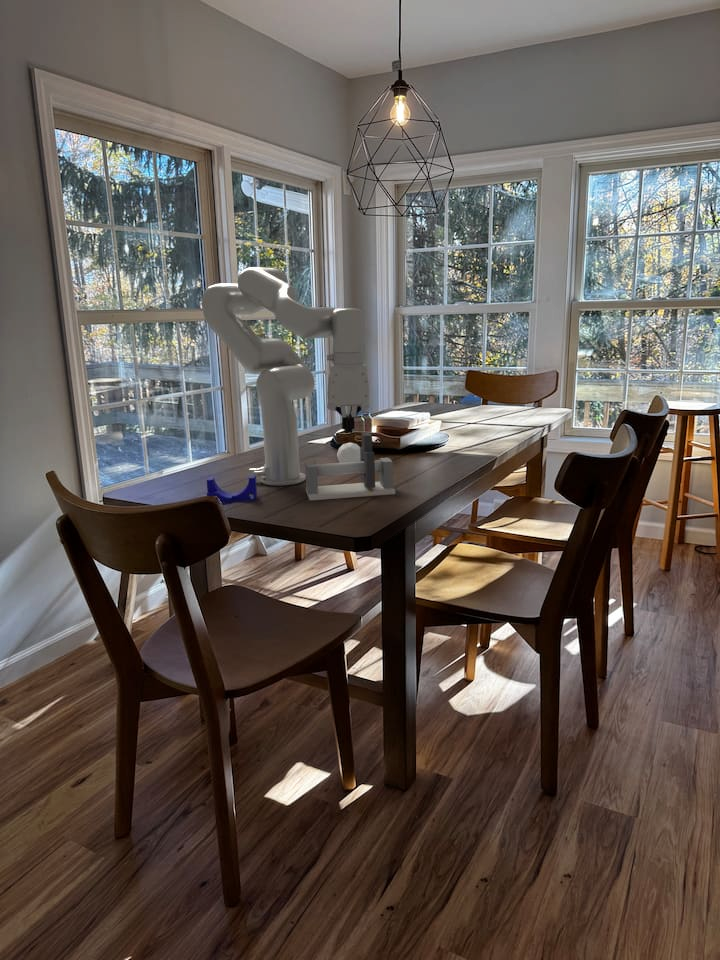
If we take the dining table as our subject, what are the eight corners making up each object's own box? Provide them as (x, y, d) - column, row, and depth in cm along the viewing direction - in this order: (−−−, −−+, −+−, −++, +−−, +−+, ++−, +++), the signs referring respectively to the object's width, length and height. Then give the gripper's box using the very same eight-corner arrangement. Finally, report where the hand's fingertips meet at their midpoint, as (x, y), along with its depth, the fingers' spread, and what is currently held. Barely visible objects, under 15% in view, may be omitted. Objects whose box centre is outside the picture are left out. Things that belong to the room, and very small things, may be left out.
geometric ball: (354, 474, 206) (367, 452, 206) (353, 471, 198) (367, 448, 198) (333, 462, 206) (346, 440, 207) (331, 458, 198) (345, 435, 199)
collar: (367, 487, 170) (366, 437, 167) (361, 479, 179) (359, 431, 176) (375, 487, 171) (373, 437, 168) (368, 479, 179) (367, 431, 176)
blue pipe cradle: (207, 504, 168) (205, 481, 167) (210, 499, 172) (208, 477, 171) (255, 502, 169) (254, 479, 167) (257, 497, 173) (255, 475, 172)
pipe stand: (309, 500, 168) (308, 469, 166) (305, 490, 178) (304, 460, 176) (395, 493, 172) (394, 463, 170) (386, 484, 181) (386, 455, 179)
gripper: (319, 361, 162) (321, 436, 167) (380, 360, 164) (379, 433, 169) (316, 358, 169) (317, 430, 174) (374, 357, 172) (373, 428, 176)
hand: (348, 431), depth 171 cm, fingers closed
